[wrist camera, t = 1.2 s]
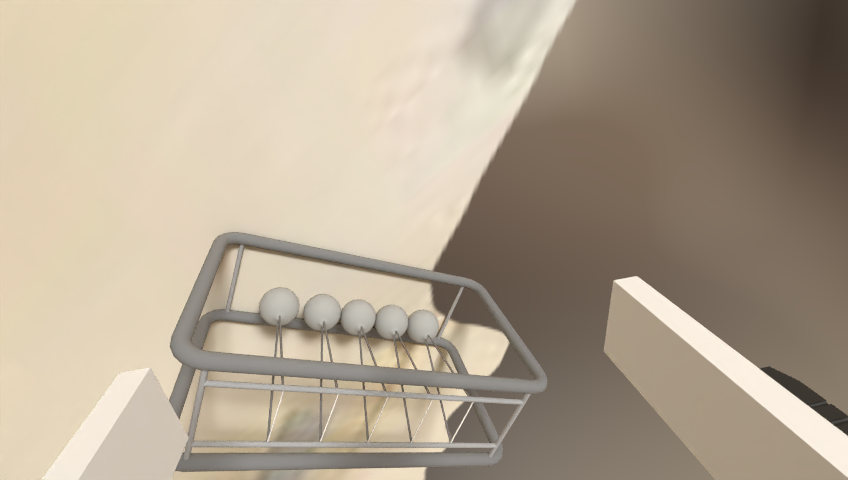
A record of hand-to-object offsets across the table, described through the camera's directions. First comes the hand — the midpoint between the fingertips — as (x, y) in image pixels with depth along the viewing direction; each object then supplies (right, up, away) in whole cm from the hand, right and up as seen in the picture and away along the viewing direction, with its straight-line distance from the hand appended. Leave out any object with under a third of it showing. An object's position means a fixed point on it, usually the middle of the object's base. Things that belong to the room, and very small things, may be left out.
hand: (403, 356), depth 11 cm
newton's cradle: (-8, -3, +34) cm, 35 cm away
